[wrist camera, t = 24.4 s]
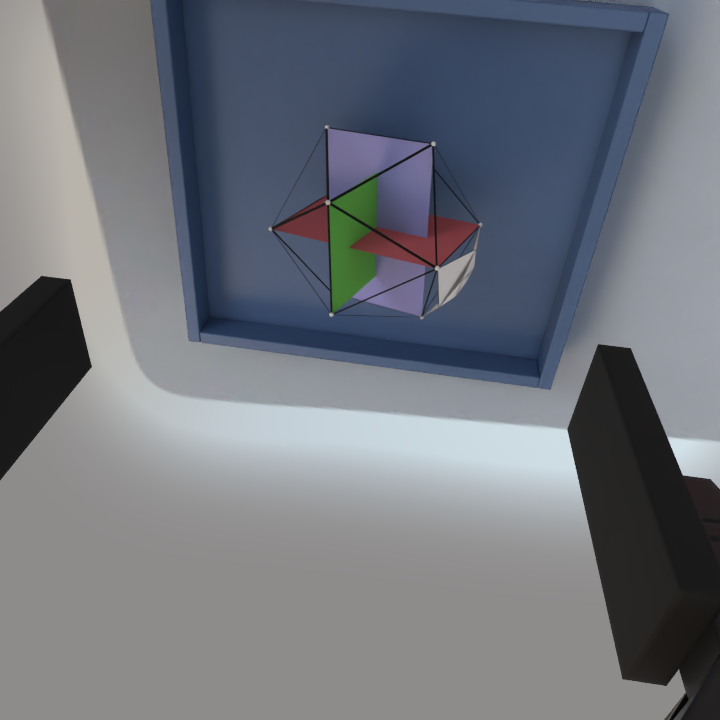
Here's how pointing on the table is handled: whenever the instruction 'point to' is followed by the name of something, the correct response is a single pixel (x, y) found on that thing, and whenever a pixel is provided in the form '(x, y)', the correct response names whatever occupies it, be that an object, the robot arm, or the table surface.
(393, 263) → the wire icosahedron model
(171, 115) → the blue tray
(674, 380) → the table surface
